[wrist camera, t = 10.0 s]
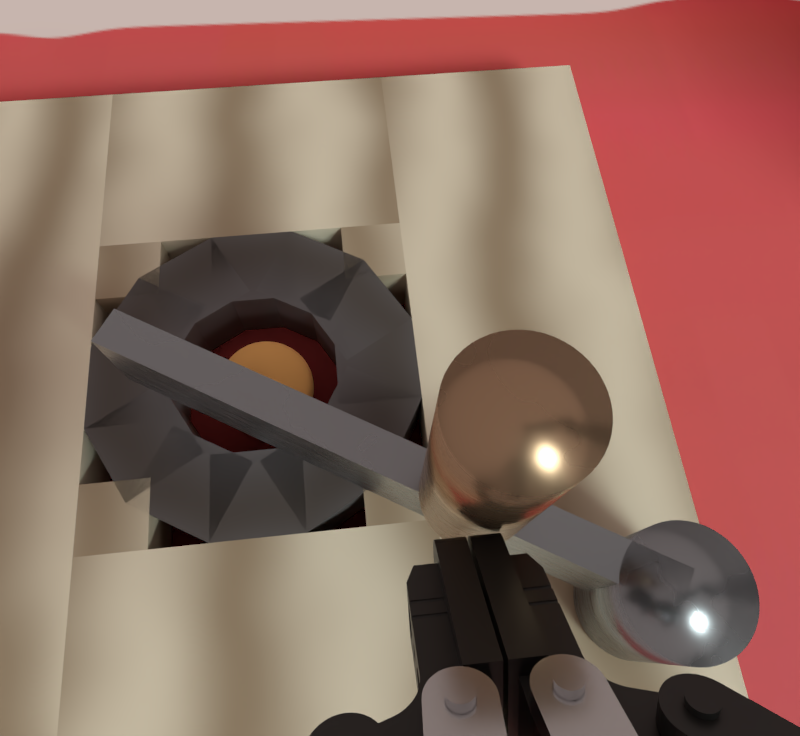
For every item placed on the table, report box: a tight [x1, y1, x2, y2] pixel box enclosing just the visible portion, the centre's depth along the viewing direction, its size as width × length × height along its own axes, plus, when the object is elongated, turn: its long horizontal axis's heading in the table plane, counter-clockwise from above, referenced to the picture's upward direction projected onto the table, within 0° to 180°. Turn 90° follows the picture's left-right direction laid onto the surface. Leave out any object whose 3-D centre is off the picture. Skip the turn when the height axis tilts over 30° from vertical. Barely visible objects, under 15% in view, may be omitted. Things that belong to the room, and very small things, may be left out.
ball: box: [229, 341, 314, 397], centre depth 24 cm, size 4×4×4 cm
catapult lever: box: [91, 309, 759, 668], centre depth 17 cm, size 20×4×11 cm, turn 65°
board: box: [0, 65, 749, 736], centre depth 25 cm, size 26×28×2 cm
